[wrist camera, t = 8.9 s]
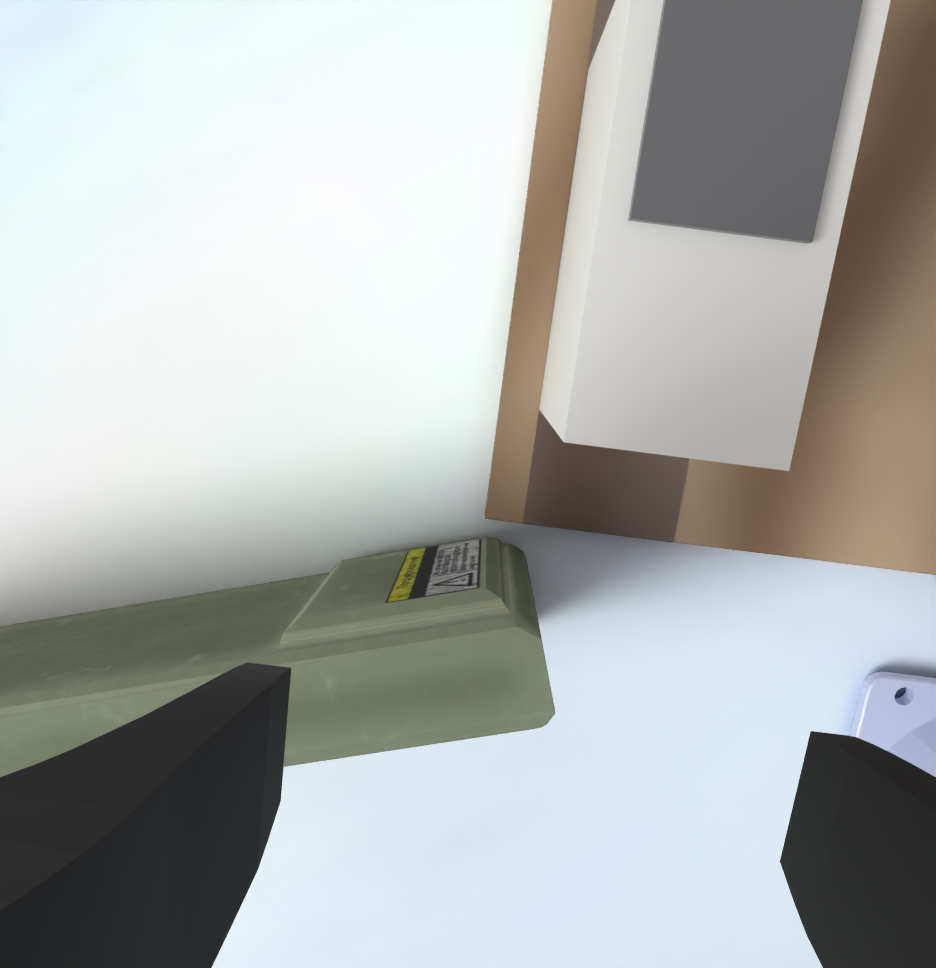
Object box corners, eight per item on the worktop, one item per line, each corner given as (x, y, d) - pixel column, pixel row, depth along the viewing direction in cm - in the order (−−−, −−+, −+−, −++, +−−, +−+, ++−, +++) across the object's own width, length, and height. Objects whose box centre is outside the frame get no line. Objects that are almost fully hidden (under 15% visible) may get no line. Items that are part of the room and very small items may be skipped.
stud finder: (757, 91, 17) (904, -40, 11) (694, 429, 19) (794, 473, 13) (588, 70, 17) (644, -75, 11) (539, 409, 19) (565, 443, 13)
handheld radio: (539, 634, 21) (-276, 762, 22) (520, 522, 21) (-312, 660, 22) (562, 755, 15) (-594, 926, 16) (536, 595, 14) (-655, 786, 15)
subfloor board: (1236, 22, 17) (1264, 11, 17) (1068, 586, 20) (1087, 594, 20) (560, -64, 17) (563, -78, 17) (485, 513, 20) (485, 518, 19)
